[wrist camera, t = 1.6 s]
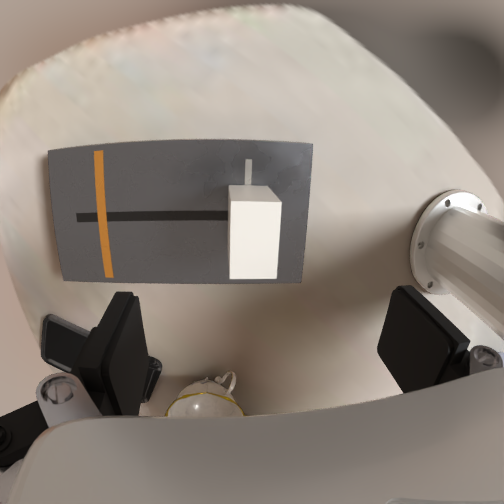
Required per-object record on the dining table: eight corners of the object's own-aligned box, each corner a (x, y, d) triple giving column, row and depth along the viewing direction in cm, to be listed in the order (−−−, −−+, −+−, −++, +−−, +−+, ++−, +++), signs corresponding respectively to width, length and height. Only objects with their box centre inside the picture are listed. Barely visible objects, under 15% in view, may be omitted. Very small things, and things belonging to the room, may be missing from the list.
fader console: (303, 142, 26) (313, 143, 24) (293, 269, 31) (301, 283, 28) (63, 148, 24) (47, 150, 21) (75, 268, 29) (63, 281, 26)
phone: (146, 404, 35) (40, 359, 32) (148, 398, 36) (43, 354, 33) (163, 365, 33) (43, 313, 29) (165, 358, 34) (47, 308, 30)
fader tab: (267, 185, 24) (281, 202, 19) (264, 246, 26) (276, 278, 20) (228, 185, 24) (230, 201, 18) (227, 246, 26) (229, 278, 20)
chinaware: (164, 343, 35) (121, 461, 19) (307, 361, 35) (331, 482, 20) (171, 463, 44) (155, 543, 29) (267, 474, 45) (269, 555, 29)
